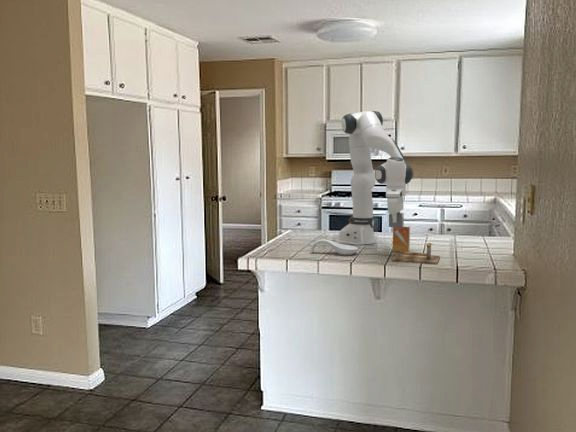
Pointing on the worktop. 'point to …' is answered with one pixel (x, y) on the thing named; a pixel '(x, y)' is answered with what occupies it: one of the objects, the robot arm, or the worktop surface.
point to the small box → (401, 238)
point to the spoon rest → (337, 247)
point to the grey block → (399, 220)
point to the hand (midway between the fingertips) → (396, 221)
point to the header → (417, 257)
